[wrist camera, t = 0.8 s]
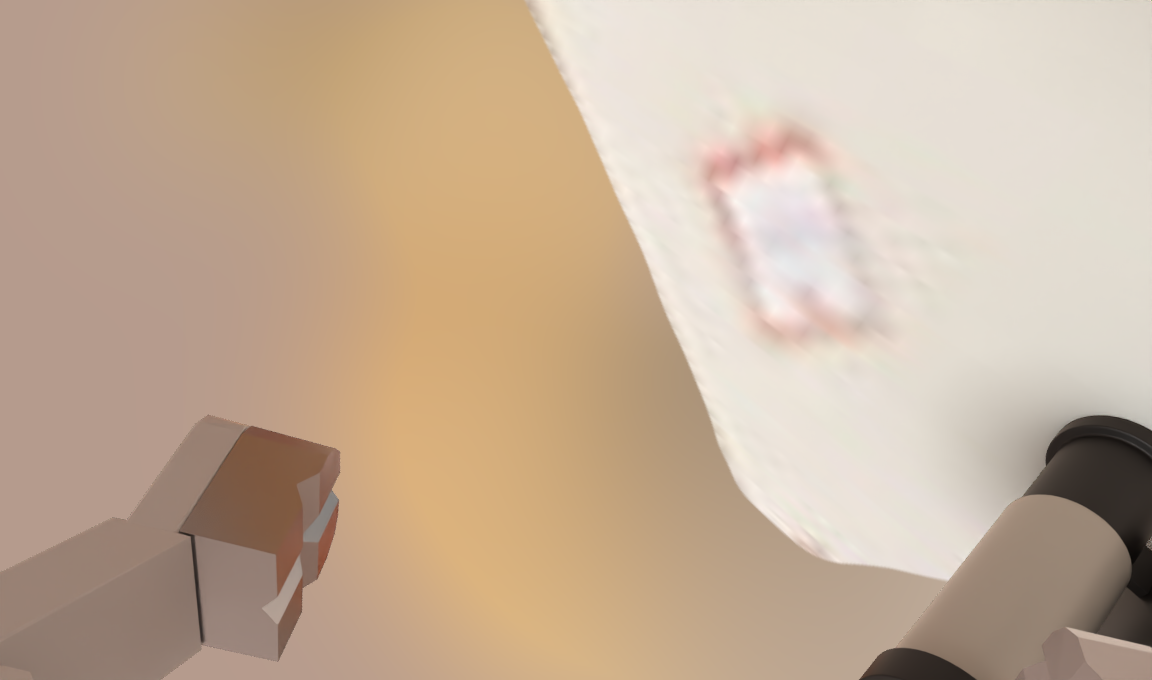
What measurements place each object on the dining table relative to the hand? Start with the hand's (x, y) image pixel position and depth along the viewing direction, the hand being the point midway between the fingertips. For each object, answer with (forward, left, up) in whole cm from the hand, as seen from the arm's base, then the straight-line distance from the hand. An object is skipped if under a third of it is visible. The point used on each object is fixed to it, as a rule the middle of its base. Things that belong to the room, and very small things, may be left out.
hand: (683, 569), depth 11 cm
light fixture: (+10, +38, -48) cm, 62 cm away
